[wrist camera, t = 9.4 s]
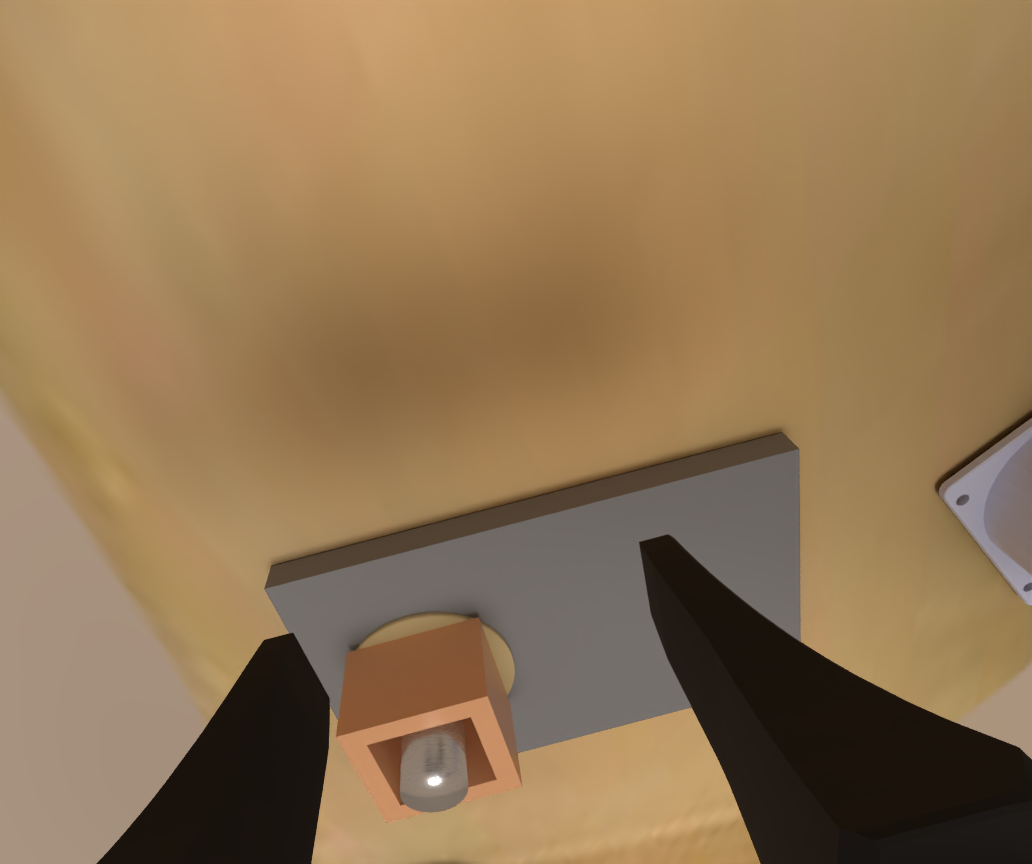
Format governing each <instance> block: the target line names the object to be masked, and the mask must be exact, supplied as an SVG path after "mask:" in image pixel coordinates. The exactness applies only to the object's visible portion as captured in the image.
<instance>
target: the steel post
mask: <svg viewBox="0 0 1032 864" xmlns="http://www.w3.org/2000/svg"><path fill="white" fill-rule="evenodd" d="M467 793H468V775H467V760H466V745H465V730H464V719H462V720H458V721H455V722H451V723H447V724H443V725H440V726H436V727H432V728H429V729H425V730H421V731H417V732H414V733H410V734H406V735H403V736H402V741H401V775H400V797H401V800H402V802H403V803H404V804H405V805H406V806H408V807H409V808H411V809H413V810H416V811H420V812H439V811H444V810H447V809H450V808H452V807H454V806H456V805H457V804H459V803H460V802H461V801H462V800H463V799H464V798H465V797H466V795H467Z"/></svg>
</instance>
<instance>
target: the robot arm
mask: <svg viewBox="0 0 1032 864" xmlns="http://www.w3.org/2000/svg"><path fill="white" fill-rule="evenodd" d="M939 495H940V497H941V498H942V500H943V501H944V502H945V503H946V505H947V506H948V507H949V509H950V510H951V511H952V512H953V514H954V515H955V516H956V517H957V519H958V520H959V521H960V522H961V524H962V525H963V526H964V528H965V529H966V530H967V531H968V533H969V534H970V535H971V536H972V538H973V539H974V540H975V541H976V543H977V544H978V545H979V547H980V548H981V549H982V550H983V552H984V553H985V554H986V555H987V557H988V558H989V559H990V560H991V562H992V563H993V564H994V566H995V567H996V568H997V569H998V571H999V572H1000V573H1001V574H1002V576H1003V577H1004V578H1005V580H1006V581H1007V582H1008V583H1009V585H1010V586H1011V587H1012V588H1013V590H1014V591H1015V592H1016V593H1017V595H1018V596H1019V597H1020V599H1021V600H1023V601H1024V602H1025V603H1026V604H1027V605H1031V606H1032V418H1030V419H1029V420H1028V421H1026V422H1025V423H1024V424H1022V425H1021V426H1020V427H1018V428H1017V429H1016V430H1014V431H1013V432H1011V433H1010V434H1009V435H1007V436H1006V437H1005V438H1003V439H1002V440H1001V441H999V442H998V443H996V444H995V445H994V446H992V447H991V448H990V449H988V450H987V451H986V452H984V453H983V454H982V455H980V456H979V457H977V458H976V459H975V460H973V461H972V462H971V463H969V464H968V465H967V466H965V467H964V468H962V469H961V470H960V471H958V472H957V473H956V474H954V475H953V476H952V477H950V478H949V479H948V480H946V481H945V482H944V483H943V484H942V485H941V487H940V489H939ZM639 546H640V552H641V558H642V564H643V570H644V576H645V582H646V588H647V594H648V600H649V606H650V612H651V616H652V619H653V621H654V624H655V627H656V629H657V632H658V635H659V638H660V640H661V643H662V645H663V648H664V651H665V653H666V656H667V659H668V661H669V663H670V665H671V667H672V669H673V671H674V673H675V675H676V677H677V679H678V681H679V683H680V685H681V687H682V689H683V691H684V693H685V695H686V697H687V699H688V701H689V703H690V705H691V707H692V709H693V711H694V713H695V715H696V717H697V719H698V721H699V723H700V724H701V726H702V728H703V730H704V732H705V734H706V736H707V738H708V740H709V742H710V744H711V746H712V748H713V750H714V752H715V754H716V756H717V758H718V760H719V762H720V765H721V767H722V769H723V771H724V773H725V775H726V778H727V780H728V782H729V784H730V787H731V789H732V792H733V794H734V797H735V800H736V802H737V805H738V807H739V810H740V812H741V815H742V817H743V820H744V822H745V825H746V827H747V830H748V832H749V835H750V837H751V840H752V842H753V845H754V848H755V850H756V853H757V855H758V858H759V860H760V863H761V864H1032V759H1031V758H1030V757H1028V756H1027V755H1026V754H1025V753H1024V752H1023V751H1022V750H1021V749H1020V748H1019V747H1017V746H1014V745H1011V744H1009V743H1006V742H1004V741H1001V740H998V739H996V738H993V737H991V736H988V735H986V734H983V733H980V732H978V731H975V730H973V729H970V728H968V727H965V726H962V725H960V724H957V723H955V722H952V721H950V720H947V719H945V718H943V717H940V716H938V715H936V714H934V713H932V712H929V711H927V710H925V709H923V708H920V707H918V706H916V705H914V704H912V703H909V702H907V701H905V700H903V699H901V698H899V697H898V696H896V695H894V694H892V693H890V692H888V691H886V690H884V689H882V688H880V687H878V686H876V685H874V684H872V683H870V682H868V681H866V680H864V679H862V678H860V677H859V676H857V675H855V674H853V673H851V672H849V671H848V670H846V669H844V668H843V667H841V666H839V665H837V664H836V663H834V662H832V661H831V660H829V659H827V658H825V657H824V656H822V655H821V654H819V653H817V652H816V651H814V650H813V649H811V648H809V647H808V646H806V645H805V644H803V643H802V642H800V641H799V640H797V639H796V638H794V637H793V636H791V635H790V634H788V633H787V632H785V631H784V630H782V629H781V628H780V627H778V626H777V625H775V624H774V623H773V622H771V621H770V620H769V619H767V618H766V617H764V616H763V615H762V614H760V613H759V612H758V611H756V610H755V609H754V608H753V607H751V606H750V605H749V604H747V603H746V602H745V601H744V600H742V599H741V598H740V597H739V596H738V595H736V594H735V593H734V592H733V591H731V590H730V589H729V588H728V587H727V586H725V585H724V584H723V583H722V582H721V581H719V580H718V579H717V578H716V577H715V576H714V575H713V574H711V573H710V572H709V571H708V570H707V569H706V568H705V567H704V566H703V565H701V564H700V563H699V562H698V561H697V560H696V559H695V558H694V557H693V556H692V555H691V554H690V553H689V552H688V551H687V550H686V549H685V548H684V547H683V546H682V545H681V544H680V543H679V542H678V541H677V540H676V539H675V538H674V537H672V536H670V535H669V534H667V535H663V536H659V537H656V538H652V539H648V540H644V541H640V542H639ZM329 724H330V698H329V696H328V694H327V692H326V691H325V689H324V687H323V685H322V683H321V682H320V680H319V678H318V676H317V674H316V673H315V671H314V669H313V667H312V665H311V664H310V662H309V660H308V658H307V656H306V655H305V653H304V651H303V649H302V647H301V646H300V644H299V642H298V640H297V638H296V637H295V635H294V633H289V634H286V635H282V636H278V637H274V638H270V639H266V640H264V641H263V642H262V644H261V645H260V647H259V648H258V650H257V651H256V652H255V654H254V655H253V657H252V658H251V660H250V661H249V663H248V665H247V666H246V668H245V669H244V671H243V672H242V674H241V675H240V677H239V678H238V680H237V681H236V683H235V684H234V686H233V687H232V689H231V690H230V692H229V693H228V695H227V697H226V698H225V699H224V701H223V702H222V704H221V705H220V707H219V708H218V710H217V711H216V713H215V714H214V716H213V717H212V719H211V720H210V722H209V723H208V725H207V726H206V728H205V729H204V731H203V732H202V733H201V735H200V736H199V738H198V739H197V741H196V742H195V743H194V744H193V746H192V747H191V749H190V750H189V751H188V753H187V754H186V755H185V757H184V758H183V759H182V761H181V762H180V763H179V765H178V766H177V768H176V769H175V770H174V772H173V773H172V775H171V776H170V777H169V779H168V780H167V781H166V783H165V784H164V785H163V786H162V788H161V789H160V790H159V792H158V793H157V794H156V795H155V797H154V798H153V799H152V801H151V802H150V803H149V804H148V806H147V807H146V808H145V809H144V810H143V811H142V813H141V814H140V815H139V816H138V817H137V819H136V820H135V821H134V822H133V823H132V824H131V826H130V827H129V828H128V829H127V831H126V832H125V833H124V834H123V835H122V836H121V837H120V839H119V840H118V841H117V842H116V843H115V844H114V846H112V848H111V849H110V850H109V851H108V852H107V853H106V854H105V855H104V857H102V859H100V861H99V862H98V863H97V864H311V861H312V854H313V848H314V842H315V835H316V829H317V822H318V816H319V810H320V803H321V797H322V791H323V784H324V777H325V770H326V764H327V756H328V749H329Z"/></svg>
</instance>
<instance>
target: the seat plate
mask: <svg viewBox="0 0 1032 864" xmlns="http://www.w3.org/2000/svg"><path fill="white" fill-rule="evenodd" d="M667 534H669V535H670V536H672V537H674V538H675V539H676V540H677V541H678V542H679V543H680V544H681V545H682V546H683V547H684V548H685V549H686V550H687V551H688V552H689V553H690V554H691V555H692V556H693V557H694V558H695V559H696V560H697V561H698V562H699V563H700V564H701V565H703V566H704V567H705V568H706V569H707V570H708V571H709V572H710V573H711V574H713V575H714V576H715V577H716V578H717V579H718V580H719V581H721V582H722V583H723V584H724V585H725V586H727V587H728V588H729V589H730V590H731V591H733V592H734V593H735V594H736V595H738V596H739V597H740V598H741V599H742V600H744V601H745V602H746V603H747V604H749V605H750V606H751V607H753V608H754V609H755V610H756V611H758V612H759V613H760V614H762V615H763V616H764V617H766V618H767V619H769V620H770V621H771V622H773V623H774V624H775V625H777V626H778V627H780V628H781V629H782V630H784V631H785V632H787V633H788V634H790V635H791V636H793V637H794V638H796V639H797V640H799V641H800V642H801V637H800V486H799V448H798V447H797V446H796V445H795V444H794V443H793V442H792V441H791V440H790V439H789V438H788V437H787V436H786V435H785V434H783V433H778V434H774V435H771V436H767V437H763V438H759V439H755V440H752V441H748V442H744V443H740V444H736V445H732V446H729V447H725V448H721V449H717V450H713V451H710V452H706V453H702V454H698V455H694V456H690V457H687V458H683V459H679V460H675V461H671V462H668V463H664V464H660V465H656V466H652V467H648V468H645V469H641V470H637V471H633V472H629V473H625V474H622V475H618V476H614V477H610V478H606V479H603V480H599V481H595V482H591V483H587V484H583V485H580V486H576V487H572V488H568V489H564V490H561V491H557V492H553V493H549V494H545V495H541V496H538V497H534V498H530V499H526V500H522V501H519V502H515V503H511V504H507V505H503V506H499V507H496V508H492V509H488V510H484V511H480V512H476V513H473V514H469V515H465V516H461V517H457V518H454V519H450V520H446V521H442V522H438V523H434V524H431V525H427V526H423V527H419V528H415V529H412V530H408V531H404V532H400V533H396V534H392V535H389V536H385V537H381V538H377V539H373V540H370V541H366V542H362V543H358V544H354V545H350V546H347V547H343V548H339V549H335V550H331V551H327V552H324V553H320V554H316V555H312V556H308V557H305V558H301V559H297V560H293V561H289V562H285V563H282V564H278V565H274V566H271V569H270V572H269V575H268V579H267V582H266V585H265V588H264V589H265V591H266V593H267V595H268V596H269V598H270V600H271V602H272V604H273V605H274V607H275V609H276V611H277V612H278V614H279V616H280V618H281V620H282V621H283V623H284V625H285V627H286V628H287V630H288V632H289V633H294V635H295V637H296V638H297V640H298V642H299V644H300V646H301V647H302V649H303V651H304V653H305V655H306V656H307V658H308V660H309V662H310V664H311V665H312V667H313V669H314V671H315V673H316V674H317V676H318V678H319V680H320V682H321V683H322V685H323V687H324V689H325V691H326V692H327V694H328V696H329V698H330V707H331V709H332V710H333V712H334V714H335V716H336V718H337V719H338V718H339V710H340V702H341V695H342V687H343V679H344V671H345V663H346V656H347V652H351V651H355V650H359V649H362V648H366V647H370V646H373V645H377V644H381V643H385V642H388V641H392V640H396V639H399V638H403V637H407V636H411V635H414V634H418V633H422V632H425V631H429V630H433V629H437V628H440V627H444V626H448V625H451V624H455V623H459V622H463V621H466V620H470V619H474V618H477V617H479V619H480V621H481V624H482V627H483V630H484V632H485V635H486V638H487V641H488V643H489V646H490V649H491V652H492V654H493V657H494V660H495V663H496V666H497V668H498V671H499V674H500V677H501V679H502V682H503V685H504V688H505V690H506V693H507V696H508V699H509V701H510V704H511V711H512V718H513V725H514V732H515V739H516V746H517V753H520V752H524V751H528V750H531V749H535V748H539V747H543V746H547V745H550V744H554V743H558V742H562V741H566V740H569V739H573V738H577V737H581V736H585V735H588V734H592V733H596V732H600V731H604V730H607V729H611V728H615V727H619V726H623V725H626V724H630V723H634V722H638V721H642V720H645V719H649V718H653V717H657V716H661V715H664V714H668V713H672V712H676V711H679V710H683V709H687V708H691V705H690V703H689V701H688V699H687V697H686V695H685V693H684V691H683V689H682V687H681V685H680V683H679V681H678V679H677V677H676V675H675V673H674V671H673V669H672V667H671V665H670V663H669V661H668V659H667V656H666V653H665V651H664V648H663V645H662V643H661V640H660V638H659V635H658V632H657V629H656V627H655V624H654V621H653V619H652V616H651V612H650V606H649V600H648V594H647V588H646V582H645V576H644V570H643V564H642V558H641V552H640V546H639V542H640V541H644V540H648V539H652V538H656V537H659V536H663V535H667Z"/></svg>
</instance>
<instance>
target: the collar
mask: <svg viewBox="0 0 1032 864" xmlns="http://www.w3.org/2000/svg"><path fill="white" fill-rule="evenodd" d="M462 719H464V730H465V745H466V760H467V775H468V793H467V795H466V797H465V798H464V799H463V800H462V801H461V802H460V803H463V802H467V801H470V800H474V799H478V798H481V797H485V796H489V795H493V794H496V793H500V792H504V791H507V790H511V789H515V788H519V787H522V781H521V774H520V767H519V760H518V753H517V746H516V739H515V732H514V725H513V718H512V711H511V704H510V701H509V699H508V696H507V693H506V690H505V688H504V685H503V682H502V679H501V677H500V674H499V671H498V668H497V666H496V663H495V660H494V657H493V654H492V652H491V649H490V646H489V643H488V641H487V638H486V635H485V632H484V630H483V627H482V624H481V621H480V619H479V617H477V618H474V619H470V620H466V621H463V622H459V623H455V624H451V625H448V626H444V627H440V628H437V629H433V630H429V631H425V632H422V633H418V634H414V635H411V636H407V637H403V638H399V639H396V640H392V641H388V642H385V643H381V644H377V645H373V646H370V647H366V648H362V649H359V650H355V651H351V652H347V656H346V663H345V671H344V679H343V687H342V695H341V702H340V710H339V718H338V726H337V733H336V738H337V739H338V741H339V743H340V745H341V746H342V748H343V750H344V751H345V753H346V755H347V756H348V758H349V760H350V761H351V763H352V765H353V767H354V768H355V770H356V772H357V773H358V775H359V777H360V778H361V780H362V782H363V784H364V785H365V787H366V789H367V790H368V792H369V794H370V795H371V797H372V799H373V800H374V802H375V804H376V806H377V807H378V809H379V811H380V812H381V814H382V816H383V817H384V819H385V821H386V822H387V823H388V822H392V821H396V820H400V819H403V818H407V817H411V816H415V815H418V814H422V813H426V812H420V811H416V810H413V809H411V808H409V807H408V806H406V805H405V804H404V803H403V802H402V800H401V797H400V775H401V741H402V736H403V735H406V734H410V733H414V732H417V731H421V730H425V729H429V728H432V727H436V726H440V725H443V724H447V723H451V722H455V721H458V720H462Z"/></svg>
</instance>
